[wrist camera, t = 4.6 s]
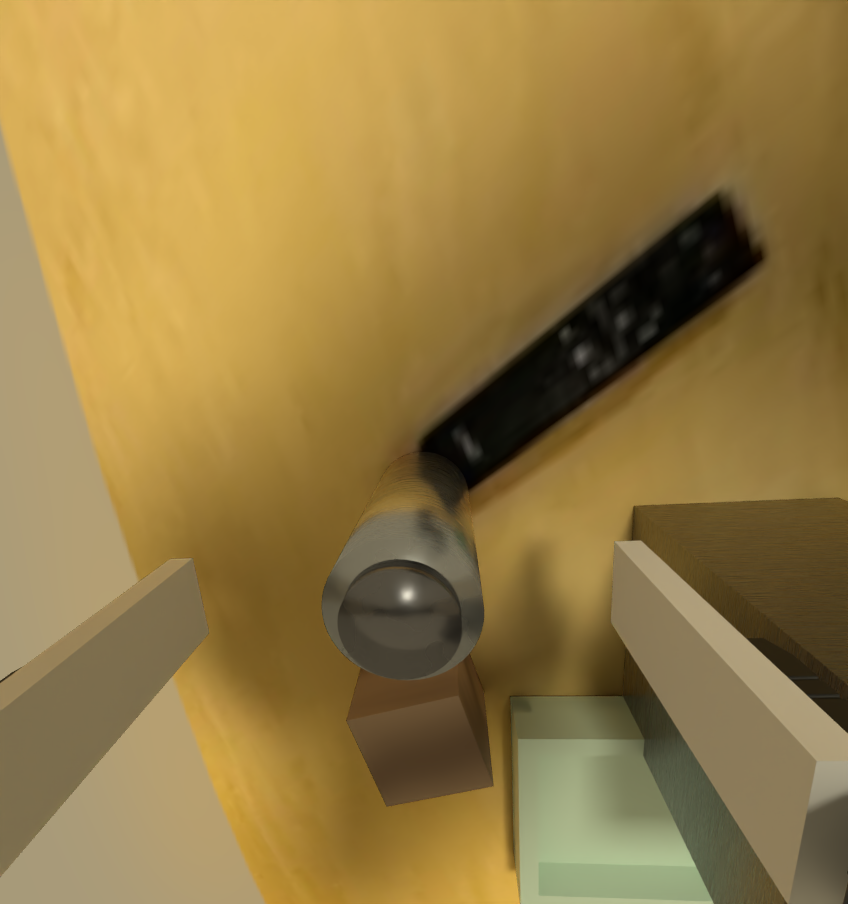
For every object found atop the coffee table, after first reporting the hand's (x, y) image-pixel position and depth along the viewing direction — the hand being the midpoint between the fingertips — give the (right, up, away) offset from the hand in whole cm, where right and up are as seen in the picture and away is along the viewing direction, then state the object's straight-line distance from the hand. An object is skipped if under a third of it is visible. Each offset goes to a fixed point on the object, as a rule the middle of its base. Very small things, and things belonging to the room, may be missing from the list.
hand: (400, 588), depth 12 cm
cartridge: (+1, +2, +7) cm, 7 cm away
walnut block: (+1, -8, +10) cm, 12 cm away
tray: (+12, -15, +11) cm, 22 cm away
